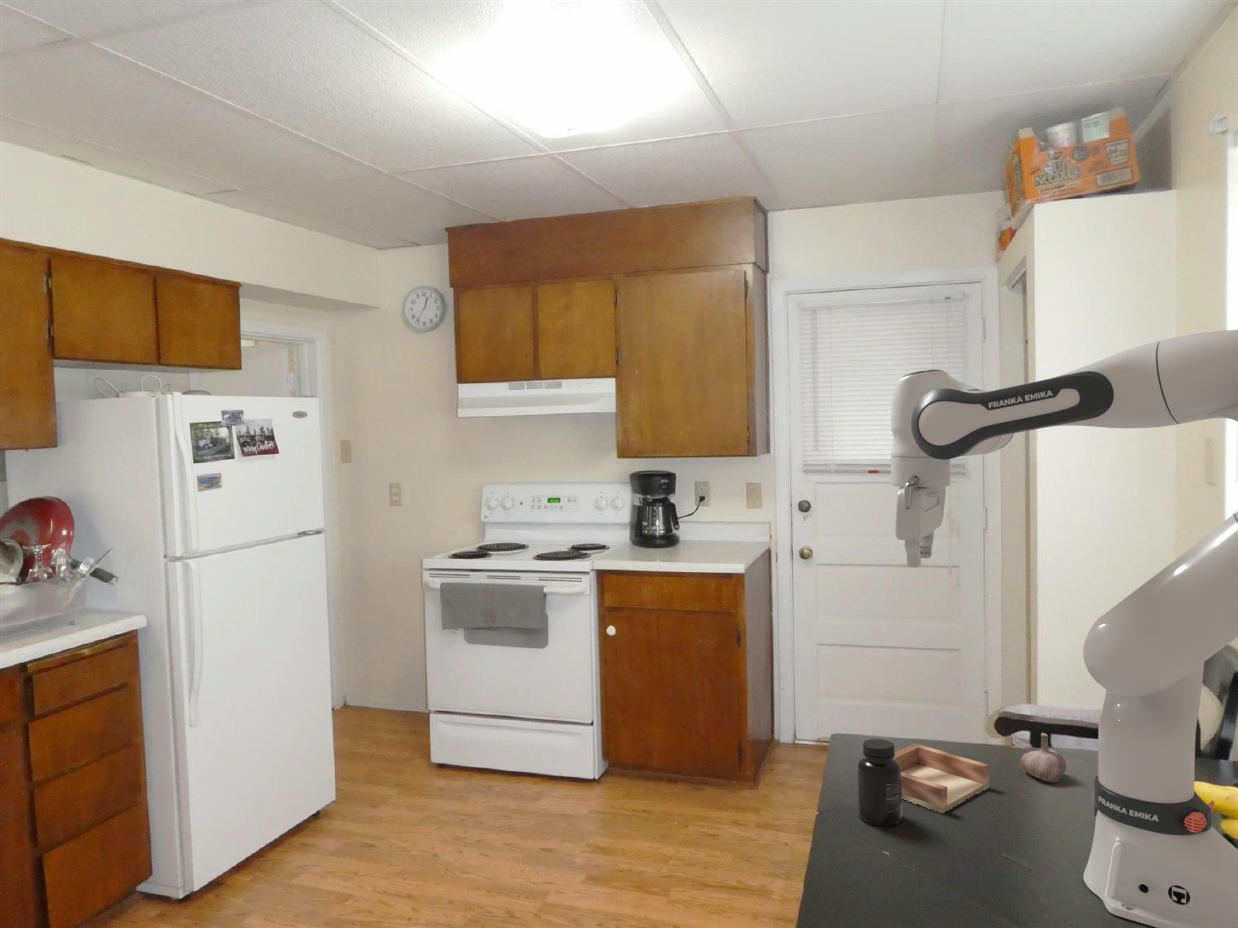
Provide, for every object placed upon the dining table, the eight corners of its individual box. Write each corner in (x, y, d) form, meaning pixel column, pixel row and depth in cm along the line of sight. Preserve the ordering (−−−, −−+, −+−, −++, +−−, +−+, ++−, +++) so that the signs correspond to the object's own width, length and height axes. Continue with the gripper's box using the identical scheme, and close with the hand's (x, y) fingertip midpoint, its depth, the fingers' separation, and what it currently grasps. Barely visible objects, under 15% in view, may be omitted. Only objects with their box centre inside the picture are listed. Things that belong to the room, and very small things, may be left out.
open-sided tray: (988, 787, 153) (988, 764, 153) (942, 814, 143) (942, 789, 143) (915, 764, 164) (914, 743, 164) (867, 787, 154) (867, 764, 154)
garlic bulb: (1063, 789, 152) (1064, 743, 152) (1016, 780, 156) (1017, 735, 156) (1068, 773, 159) (1068, 729, 158) (1023, 766, 163) (1023, 722, 162)
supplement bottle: (897, 809, 146) (896, 736, 145) (906, 828, 139) (906, 752, 138) (853, 808, 146) (853, 735, 146) (861, 827, 139) (860, 751, 139)
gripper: (929, 479, 130) (928, 574, 130) (951, 471, 148) (951, 554, 148) (884, 478, 133) (884, 571, 133) (912, 470, 151) (911, 552, 151)
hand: (919, 562), depth 141 cm, fingers open, 8 cm apart
